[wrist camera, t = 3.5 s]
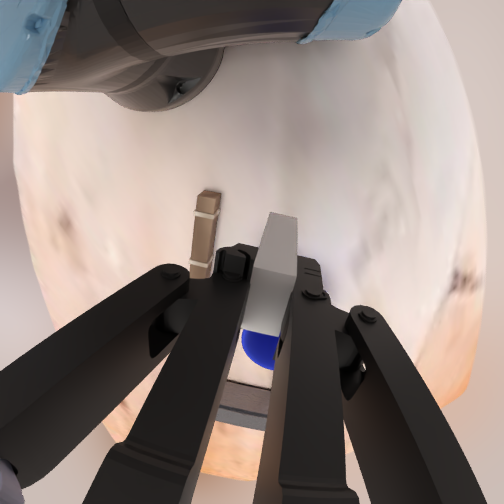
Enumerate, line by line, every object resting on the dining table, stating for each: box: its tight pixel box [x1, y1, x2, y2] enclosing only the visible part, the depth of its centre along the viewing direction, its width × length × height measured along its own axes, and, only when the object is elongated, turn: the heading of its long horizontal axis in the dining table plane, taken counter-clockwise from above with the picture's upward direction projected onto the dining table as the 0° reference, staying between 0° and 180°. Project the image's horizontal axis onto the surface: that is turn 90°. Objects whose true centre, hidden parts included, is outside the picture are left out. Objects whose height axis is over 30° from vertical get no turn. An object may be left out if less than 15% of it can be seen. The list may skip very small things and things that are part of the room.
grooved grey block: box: [215, 381, 271, 431], centre depth 43 cm, size 16×5×6 cm, turn 80°
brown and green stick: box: [189, 190, 221, 279], centre depth 38 cm, size 2×30×3 cm, turn 170°
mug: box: [242, 329, 281, 370], centre depth 32 cm, size 8×12×10 cm
